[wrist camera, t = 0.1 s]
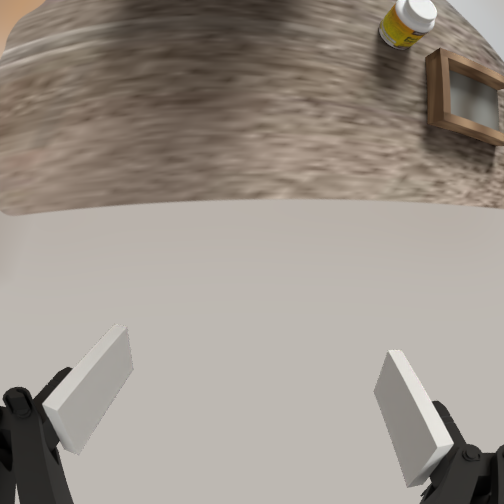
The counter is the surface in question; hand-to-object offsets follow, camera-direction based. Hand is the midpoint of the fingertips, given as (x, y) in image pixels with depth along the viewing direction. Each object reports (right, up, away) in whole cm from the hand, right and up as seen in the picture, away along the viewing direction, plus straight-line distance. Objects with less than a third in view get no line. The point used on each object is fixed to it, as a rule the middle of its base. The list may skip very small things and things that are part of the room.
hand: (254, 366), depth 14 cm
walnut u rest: (+32, +28, +19) cm, 47 cm away
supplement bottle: (+21, +37, +18) cm, 46 cm away
